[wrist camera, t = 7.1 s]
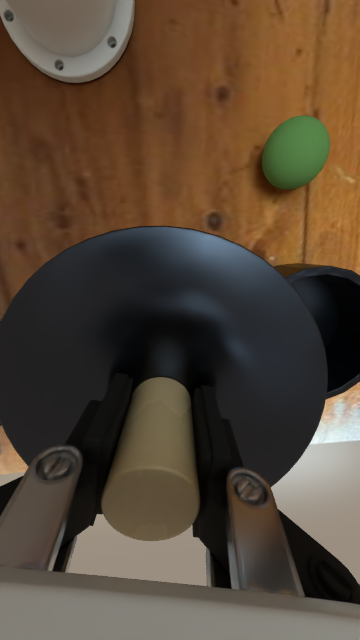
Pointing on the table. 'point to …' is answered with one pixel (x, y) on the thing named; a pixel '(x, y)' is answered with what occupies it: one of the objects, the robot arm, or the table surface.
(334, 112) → the table surface
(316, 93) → the table surface
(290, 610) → the robot arm
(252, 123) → the table surface
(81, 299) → the lid
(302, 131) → the ball
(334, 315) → the pan
